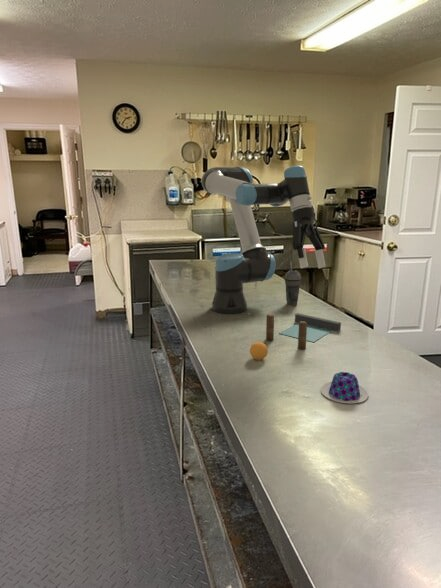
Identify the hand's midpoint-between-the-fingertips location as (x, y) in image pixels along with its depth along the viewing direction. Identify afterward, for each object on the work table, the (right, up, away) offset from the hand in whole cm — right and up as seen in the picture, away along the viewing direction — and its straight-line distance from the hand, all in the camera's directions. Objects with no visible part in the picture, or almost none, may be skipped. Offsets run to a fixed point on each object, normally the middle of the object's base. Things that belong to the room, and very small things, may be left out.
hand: (313, 267), depth 152 cm
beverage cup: (-1, -14, +39) cm, 42 cm away
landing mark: (-2, -23, +5) cm, 24 cm away
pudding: (0, -36, -39) cm, 53 cm away
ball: (-21, -27, -18) cm, 39 cm away
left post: (-16, -25, -2) cm, 30 cm away
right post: (-6, -27, -9) cm, 29 cm away
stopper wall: (+4, -21, +12) cm, 25 cm away
